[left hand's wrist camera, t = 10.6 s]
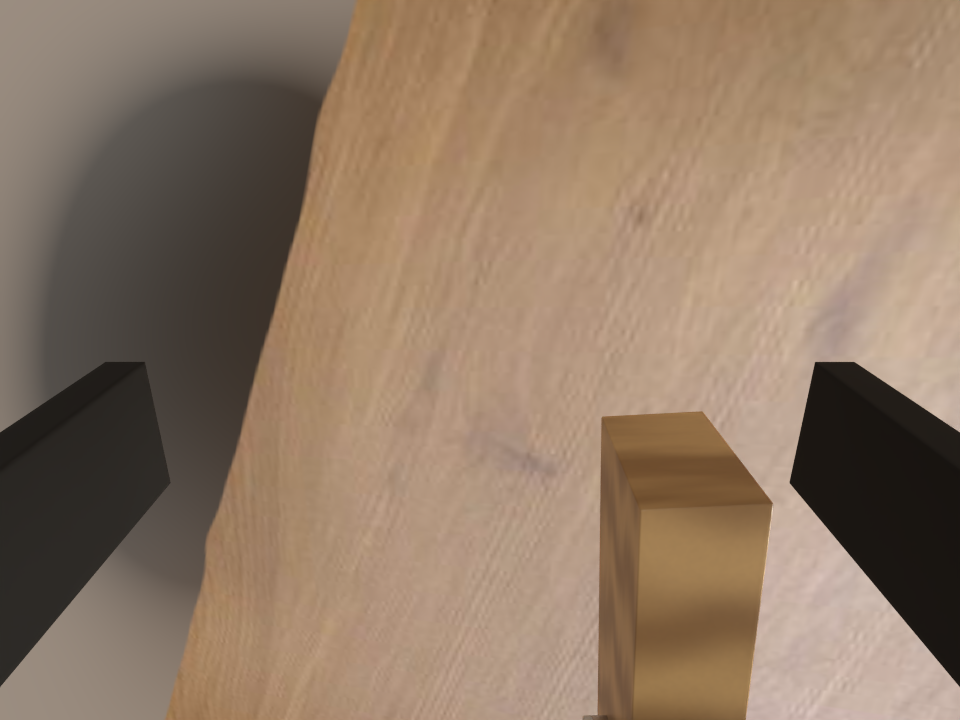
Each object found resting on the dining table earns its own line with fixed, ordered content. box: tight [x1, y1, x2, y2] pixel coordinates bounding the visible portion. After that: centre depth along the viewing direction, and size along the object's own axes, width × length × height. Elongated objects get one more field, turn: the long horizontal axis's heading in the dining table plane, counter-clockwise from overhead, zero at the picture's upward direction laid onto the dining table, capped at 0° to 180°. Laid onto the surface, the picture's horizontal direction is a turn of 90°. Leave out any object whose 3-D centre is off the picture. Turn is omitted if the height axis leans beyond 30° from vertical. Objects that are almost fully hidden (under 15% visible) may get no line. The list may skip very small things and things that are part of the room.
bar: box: [598, 412, 773, 720], centre depth 32 cm, size 22×5×8 cm, turn 3°
